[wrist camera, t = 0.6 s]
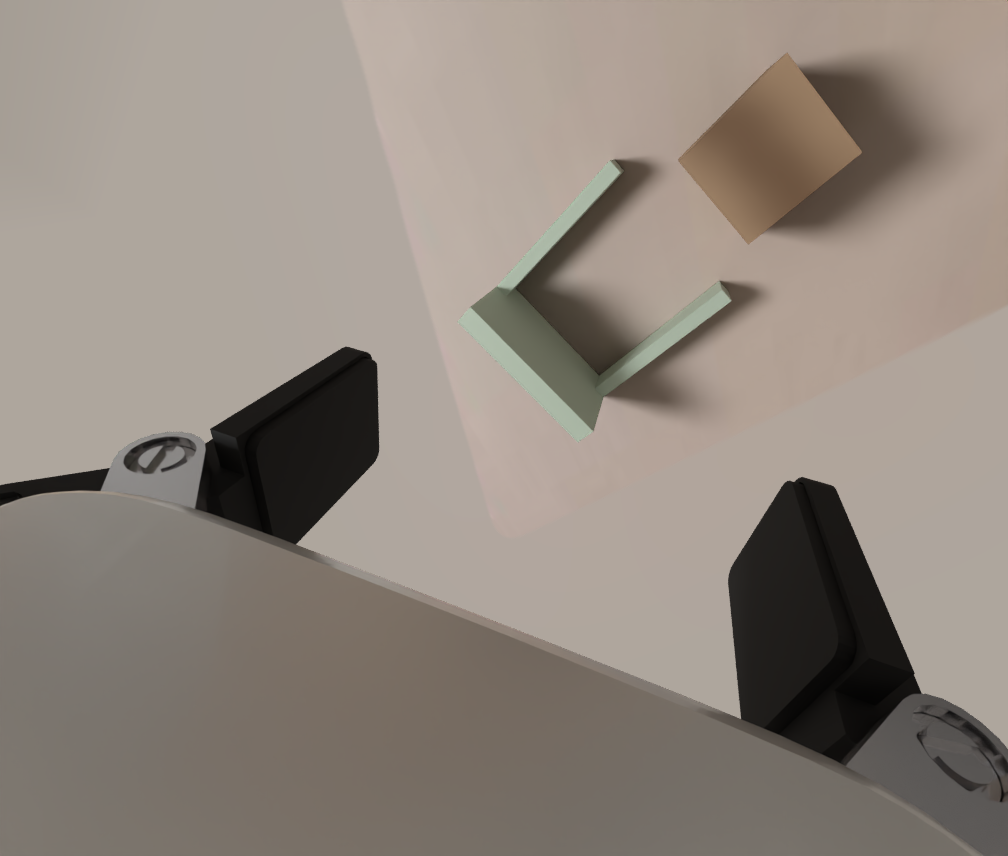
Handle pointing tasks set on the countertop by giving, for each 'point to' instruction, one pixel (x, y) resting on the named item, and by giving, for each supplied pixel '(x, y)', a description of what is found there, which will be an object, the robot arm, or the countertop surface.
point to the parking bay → (543, 351)
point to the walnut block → (769, 150)
